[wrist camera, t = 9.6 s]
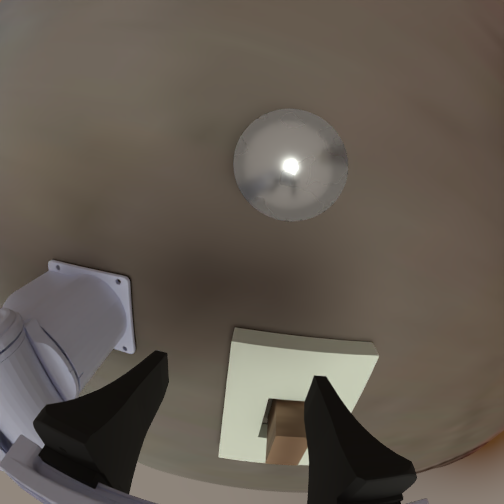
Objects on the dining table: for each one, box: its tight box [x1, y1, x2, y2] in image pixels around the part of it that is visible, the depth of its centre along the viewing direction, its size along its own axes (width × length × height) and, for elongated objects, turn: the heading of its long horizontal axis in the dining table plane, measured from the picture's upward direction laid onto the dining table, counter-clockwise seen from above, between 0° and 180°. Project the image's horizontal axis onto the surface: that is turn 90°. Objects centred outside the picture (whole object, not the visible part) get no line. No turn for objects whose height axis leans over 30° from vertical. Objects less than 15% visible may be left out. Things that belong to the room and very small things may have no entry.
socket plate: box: [219, 327, 379, 465], centre depth 24 cm, size 12×18×2 cm, turn 173°
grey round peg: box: [233, 109, 348, 221], centre depth 16 cm, size 6×6×6 cm
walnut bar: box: [265, 399, 308, 465], centre depth 22 cm, size 3×5×6 cm, turn 173°
